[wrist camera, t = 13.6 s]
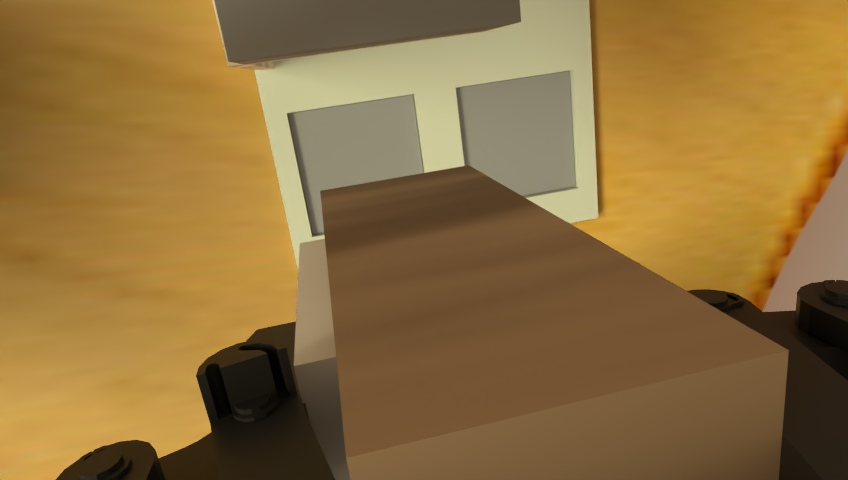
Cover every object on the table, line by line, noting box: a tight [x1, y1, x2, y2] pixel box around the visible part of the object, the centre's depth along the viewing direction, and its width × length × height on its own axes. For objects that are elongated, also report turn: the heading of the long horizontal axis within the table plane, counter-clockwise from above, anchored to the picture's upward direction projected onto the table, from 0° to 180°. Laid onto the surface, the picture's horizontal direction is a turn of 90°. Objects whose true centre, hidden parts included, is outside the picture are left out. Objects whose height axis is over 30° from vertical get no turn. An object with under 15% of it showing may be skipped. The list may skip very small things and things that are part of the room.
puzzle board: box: [254, 0, 598, 269], centre depth 33 cm, size 23×20×1 cm
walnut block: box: [320, 165, 789, 480], centre depth 12 cm, size 4×4×12 cm
